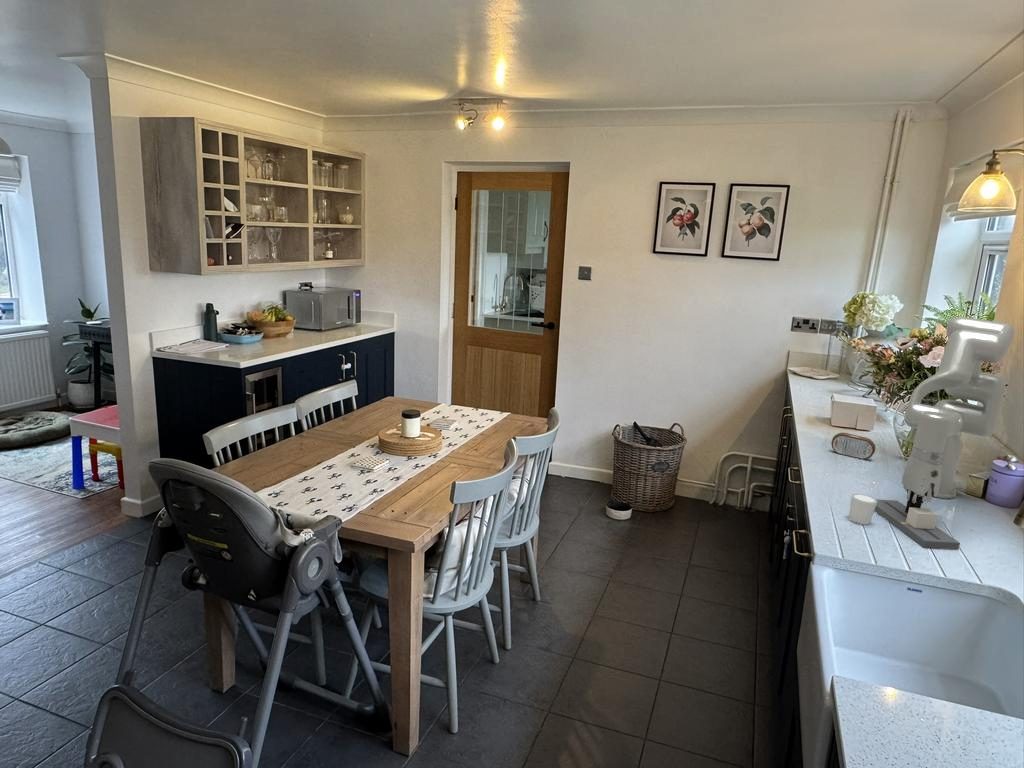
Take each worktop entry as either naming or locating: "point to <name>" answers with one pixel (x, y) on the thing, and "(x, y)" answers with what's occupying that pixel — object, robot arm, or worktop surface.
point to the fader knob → (922, 518)
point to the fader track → (923, 537)
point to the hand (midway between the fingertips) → (911, 514)
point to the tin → (853, 446)
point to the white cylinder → (862, 508)
